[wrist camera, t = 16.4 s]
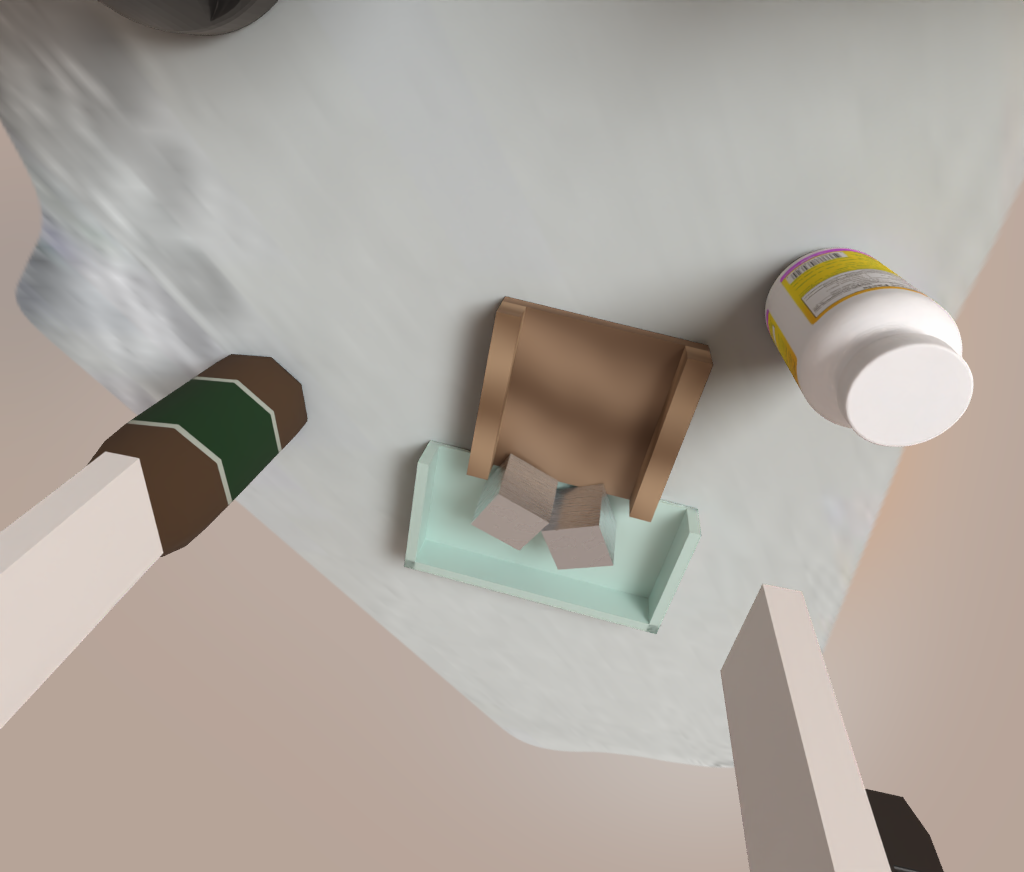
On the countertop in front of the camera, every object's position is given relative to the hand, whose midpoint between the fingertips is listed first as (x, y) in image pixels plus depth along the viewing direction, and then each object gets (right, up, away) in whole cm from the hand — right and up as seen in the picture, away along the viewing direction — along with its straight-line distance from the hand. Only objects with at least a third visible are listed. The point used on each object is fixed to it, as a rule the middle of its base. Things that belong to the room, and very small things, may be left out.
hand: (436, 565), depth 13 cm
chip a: (+2, -1, +32) cm, 32 cm away
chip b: (+7, -2, +32) cm, 33 cm away
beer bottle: (-17, +6, +33) cm, 38 cm away
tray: (+4, -4, +34) cm, 35 cm away
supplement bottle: (+20, +11, +23) cm, 32 cm away
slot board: (+6, +5, +29) cm, 30 cm away
